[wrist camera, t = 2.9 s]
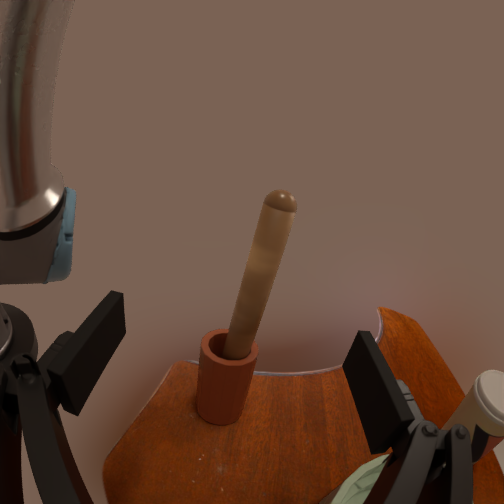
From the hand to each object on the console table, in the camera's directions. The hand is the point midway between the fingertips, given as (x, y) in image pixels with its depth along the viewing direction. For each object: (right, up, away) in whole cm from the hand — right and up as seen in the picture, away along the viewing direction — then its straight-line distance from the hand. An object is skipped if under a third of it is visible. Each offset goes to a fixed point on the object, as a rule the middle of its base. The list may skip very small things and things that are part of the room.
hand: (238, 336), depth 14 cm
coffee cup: (+26, -22, +7) cm, 35 cm away
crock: (-3, -14, +14) cm, 20 cm away
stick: (-3, -13, +14) cm, 19 cm away
